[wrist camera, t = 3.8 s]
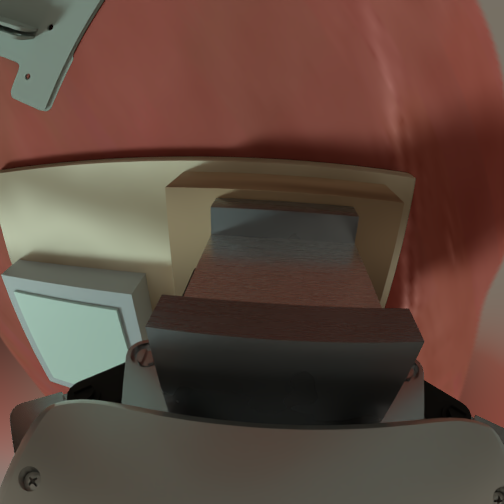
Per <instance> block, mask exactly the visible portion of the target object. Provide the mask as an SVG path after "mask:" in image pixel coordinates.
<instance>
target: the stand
mask: <svg viewBox="0 0 504 504" xmlns="http://www.w3.org/2000/svg"><path fill="white" fill-rule="evenodd" d="M165 192H166V206H167V219H168V231H169V242H170V252H171V262H172V271H173V280H174V288H175V296H182V295H183V293H184V291H185V288H186V286H187V284H188V282H189V279H190V277H191V275H192V273H193V271H194V269H195V268H196V267H197V264H198V262H199V260H200V258H201V256H202V253H203V251H204V249H205V247H206V245H207V242H208V240H209V238H210V236H211V205H212V204H213V202H214V200H215V199H216V198H232V199H253V200H271V201H287V202H302V203H315V204H328V205H340V206H351V207H354V209H355V211H356V212H357V214H358V216H359V221H358V227H357V233H356V238H355V245H356V248H357V250H358V252H359V254H360V257H361V259H362V261H363V264H364V266H365V268H366V271H367V273H368V275H369V278H370V280H371V283H372V285H373V287H374V290H375V292H376V295H377V297H378V300H379V302H380V301H381V297H382V294H383V291H384V287H385V283H386V280H387V276H388V272H389V269H390V265H391V261H392V257H393V253H394V249H395V244H396V240H397V236H398V231H399V227H400V222H401V217H402V212H403V207H404V202H403V201H402V200H401V199H400V198H399V197H398V196H397V195H396V194H395V193H394V192H392V191H391V190H390V189H389V188H388V187H387V186H386V185H384V184H376V183H367V182H358V181H349V180H339V179H328V178H316V177H304V176H290V175H274V174H255V173H231V172H183V173H181V174H180V175H179V176H178V177H177V178H175V179H174V180H173V181H172V182H171V183H170V184H168V185H167V186H166V187H165Z"/></svg>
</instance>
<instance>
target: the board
mask: <svg viewBox="0 0 504 504" xmlns="http://www.w3.org/2000/svg"><path fill="white" fill-rule="evenodd" d="M183 172H231V173H255V174H274V175H290V176H304V177H316V178H328V179H339V180H349V181H358V182H367V183H376V184H384V185H386V186H387V187H388V188H389V189H390V190H391V191H392V192H394V193H395V194H396V195H397V196H398V197H399V198H400V199H401V200H402V201H403V202H404V207H403V212H402V217H401V222H400V227H399V231H398V236H397V240H396V244H395V249H394V253H393V257H392V261H391V265H390V269H389V272H388V276H387V280H386V283H385V287H384V291H383V294H382V297H381V301H380V305H381V307H382V308H385V305H386V302H387V298H388V295H389V292H390V288H391V285H392V281H393V278H394V274H395V271H396V267H397V263H398V259H399V255H400V251H401V247H402V243H403V239H404V235H405V230H406V226H407V221H408V217H409V212H410V207H411V202H412V197H413V192H414V186H415V180H416V178H415V177H413V176H412V175H410V174H409V173H406V172H399V171H392V170H385V169H377V168H370V167H361V166H353V165H343V164H334V163H323V162H312V161H299V160H284V159H267V158H245V157H201V156H180V157H136V158H115V159H98V160H85V161H73V162H62V163H52V164H43V165H34V166H26V167H19V168H12V169H5V170H0V224H1V228H2V232H3V236H4V239H5V243H6V246H7V250H8V253H9V256H10V260H11V263H12V265H13V264H14V263H15V262H16V261H18V260H27V261H35V262H43V263H52V264H60V265H69V266H78V267H87V268H97V269H107V270H117V271H127V272H137V273H146V279H147V285H148V291H149V296H150V302H151V307H152V312H153V311H154V309H155V307H156V305H157V303H158V301H159V299H160V297H161V295H162V294H164V295H174V296H175V288H174V280H173V271H172V262H171V252H170V242H169V231H168V219H167V206H166V192H165V187H166V186H167V185H168V184H170V183H171V182H172V181H173V180H174V179H175V178H177V177H178V176H179V175H180V174H181V173H183Z"/></svg>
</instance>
